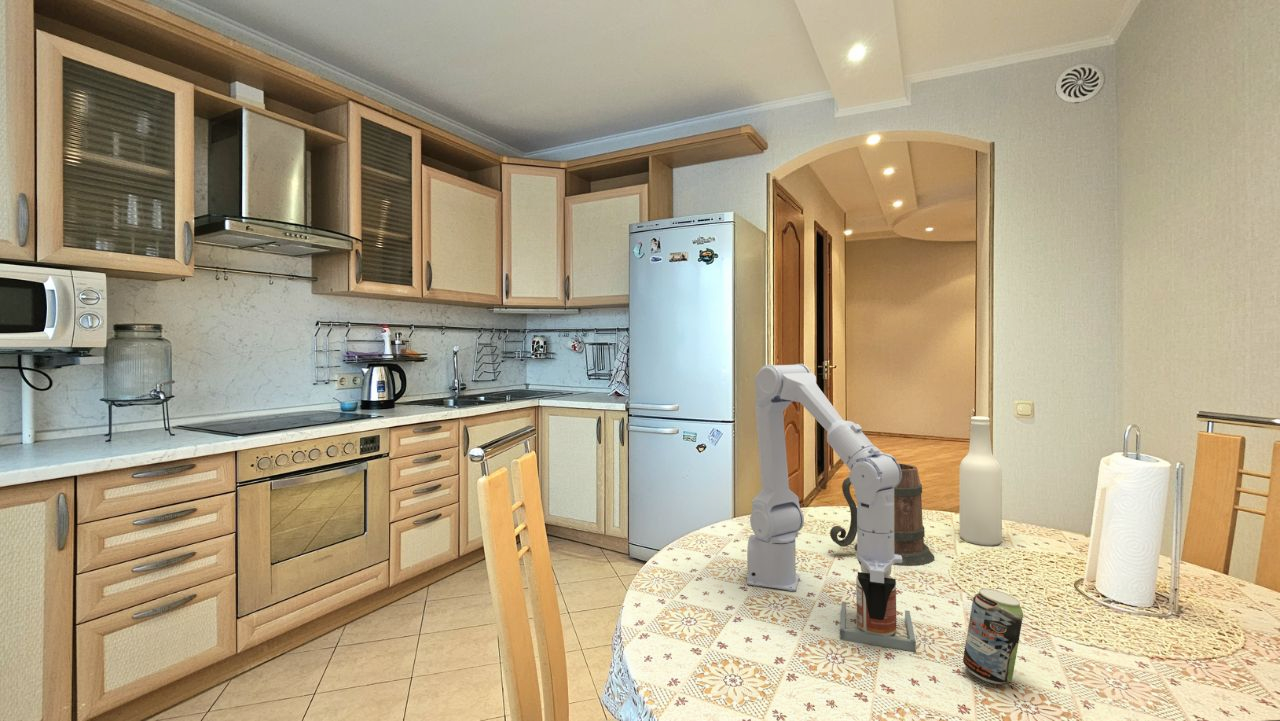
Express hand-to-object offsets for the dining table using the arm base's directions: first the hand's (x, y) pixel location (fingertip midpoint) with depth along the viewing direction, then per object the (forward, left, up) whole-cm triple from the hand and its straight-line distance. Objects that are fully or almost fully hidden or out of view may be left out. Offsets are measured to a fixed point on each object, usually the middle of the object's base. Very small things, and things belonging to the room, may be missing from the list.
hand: (875, 608), depth 93 cm
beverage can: (+15, -9, -4) cm, 18 cm away
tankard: (+2, +38, -4) cm, 38 cm away
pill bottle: (0, 0, -4) cm, 4 cm away
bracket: (0, 0, -3) cm, 3 cm away
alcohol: (+25, +55, -4) cm, 60 cm away
